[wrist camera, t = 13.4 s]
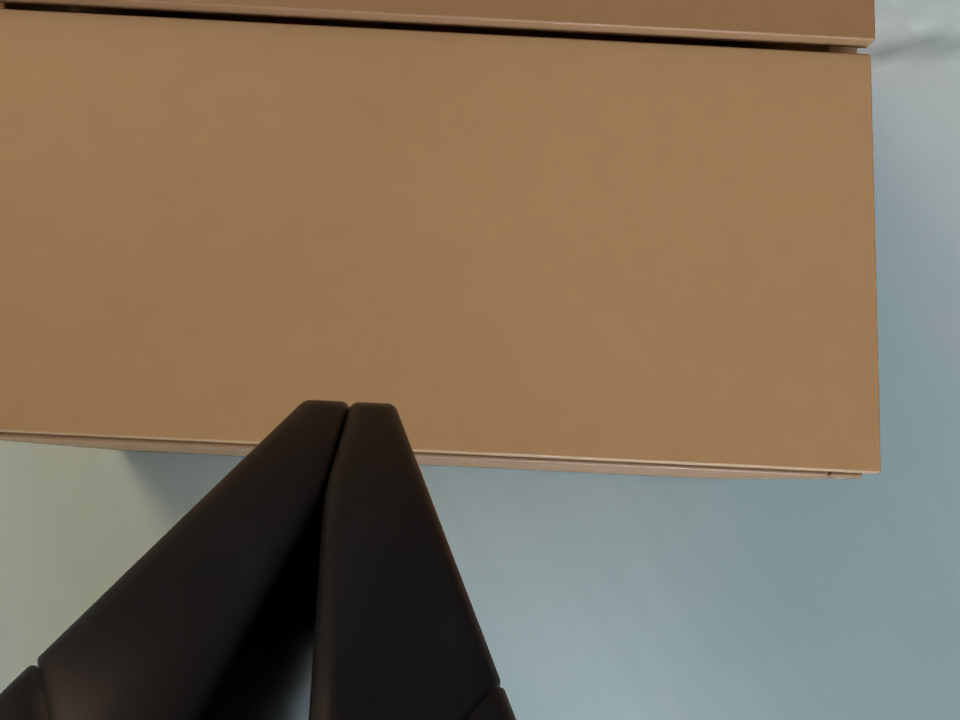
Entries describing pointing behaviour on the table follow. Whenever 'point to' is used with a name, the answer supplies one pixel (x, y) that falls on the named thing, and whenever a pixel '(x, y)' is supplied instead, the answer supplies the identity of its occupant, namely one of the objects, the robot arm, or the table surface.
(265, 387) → the flap
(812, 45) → the carton
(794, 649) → the table surface
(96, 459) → the table surface
